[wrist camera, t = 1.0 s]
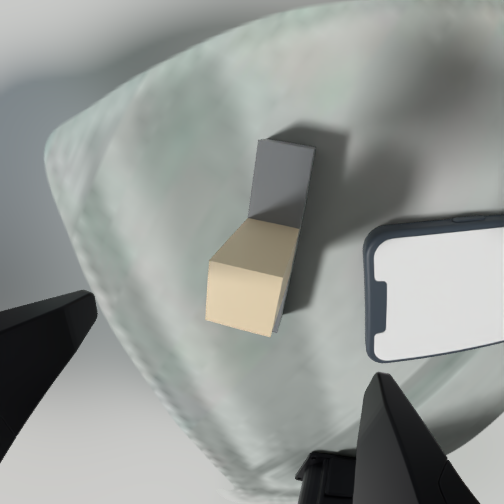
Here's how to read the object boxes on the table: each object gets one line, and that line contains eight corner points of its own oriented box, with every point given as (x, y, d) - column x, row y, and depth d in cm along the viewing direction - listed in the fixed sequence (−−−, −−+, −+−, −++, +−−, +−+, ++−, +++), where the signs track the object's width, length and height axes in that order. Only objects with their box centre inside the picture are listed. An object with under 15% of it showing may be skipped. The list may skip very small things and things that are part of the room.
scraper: (282, 313, 19) (256, 399, 12) (243, 304, 19) (202, 383, 13) (315, 147, 14) (304, 159, 8) (267, 138, 15) (220, 146, 9)
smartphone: (569, 204, 11) (359, 222, 16) (582, 211, 10) (363, 232, 14) (548, 317, 14) (364, 351, 19) (557, 329, 13) (365, 368, 17)
